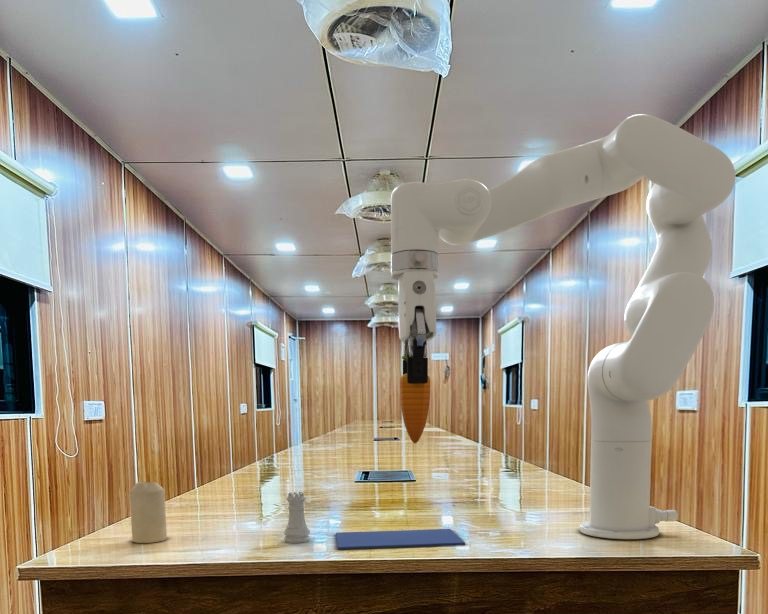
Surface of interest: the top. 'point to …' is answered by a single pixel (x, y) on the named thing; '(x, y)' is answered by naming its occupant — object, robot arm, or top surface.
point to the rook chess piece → (296, 520)
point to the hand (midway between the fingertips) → (414, 382)
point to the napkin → (397, 539)
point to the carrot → (414, 406)
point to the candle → (148, 512)
